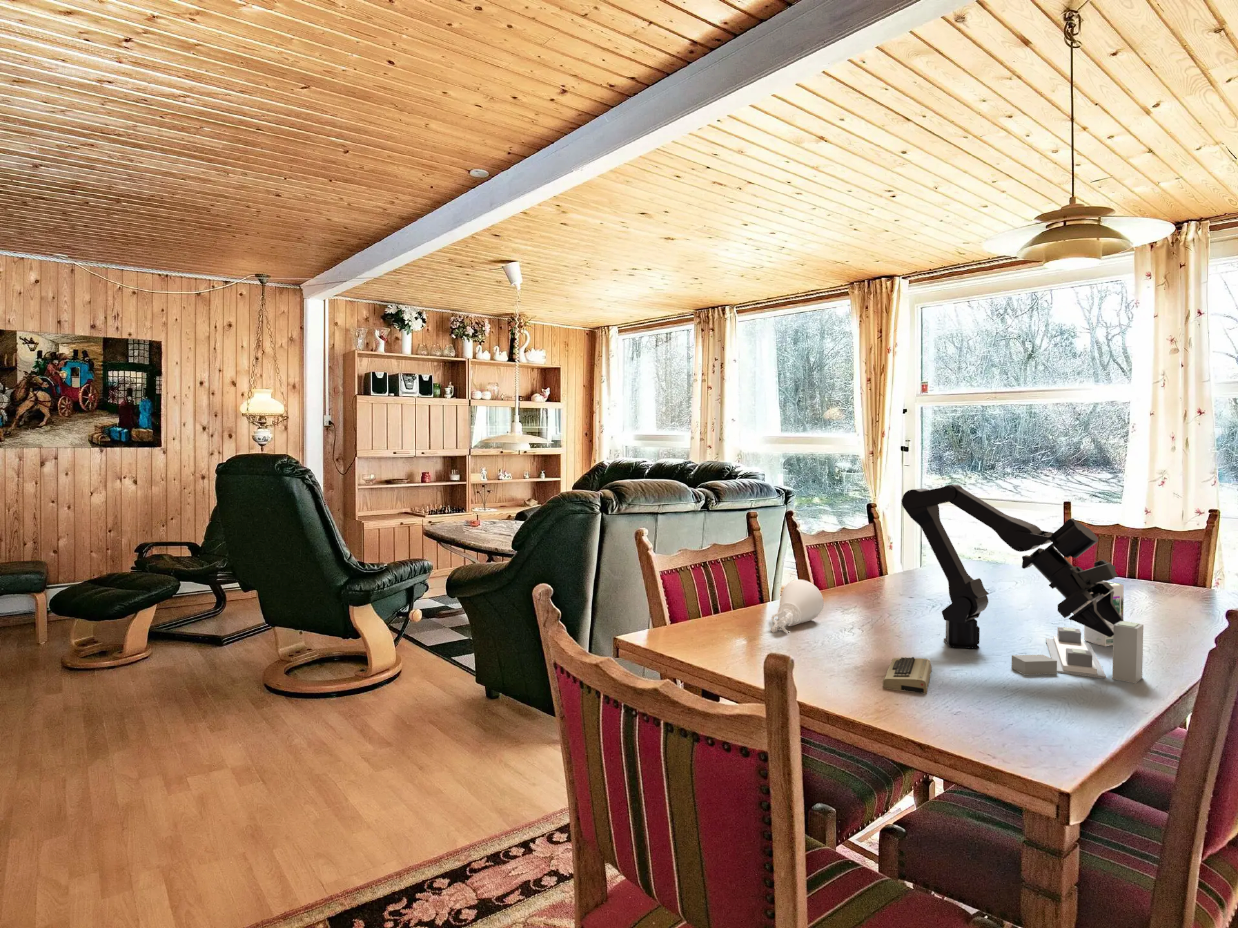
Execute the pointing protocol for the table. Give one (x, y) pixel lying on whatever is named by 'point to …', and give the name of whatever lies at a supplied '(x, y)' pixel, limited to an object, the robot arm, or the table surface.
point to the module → (1127, 651)
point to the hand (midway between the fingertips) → (1118, 631)
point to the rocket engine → (798, 604)
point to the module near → (1078, 657)
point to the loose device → (1034, 664)
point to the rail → (1059, 654)
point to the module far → (1069, 635)
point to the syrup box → (1096, 636)
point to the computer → (908, 675)
